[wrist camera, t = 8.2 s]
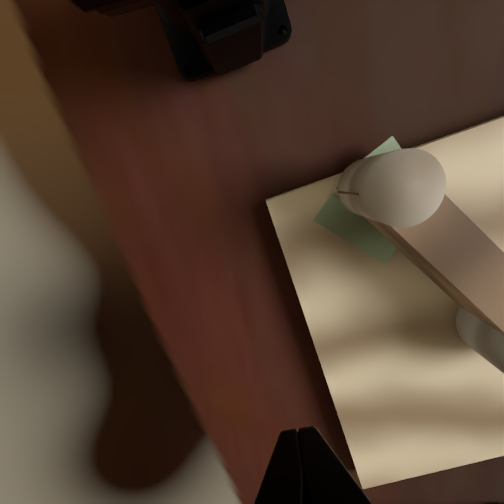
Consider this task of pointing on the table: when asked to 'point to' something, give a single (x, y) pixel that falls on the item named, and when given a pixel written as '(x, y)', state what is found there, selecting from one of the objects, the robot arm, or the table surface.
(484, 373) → the striped placemat
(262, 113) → the table surface
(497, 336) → the wooden dumbbell
